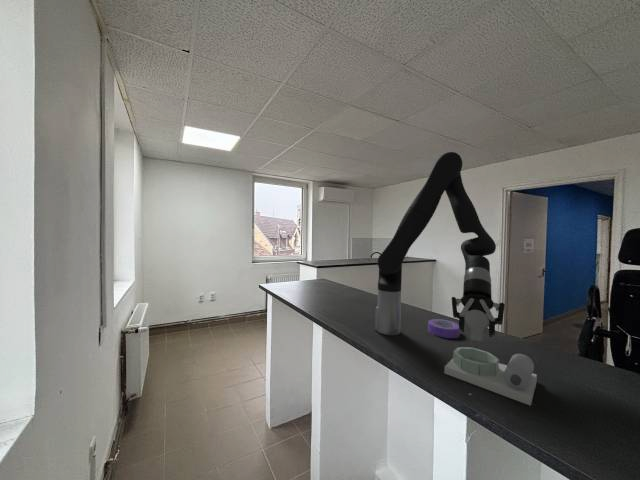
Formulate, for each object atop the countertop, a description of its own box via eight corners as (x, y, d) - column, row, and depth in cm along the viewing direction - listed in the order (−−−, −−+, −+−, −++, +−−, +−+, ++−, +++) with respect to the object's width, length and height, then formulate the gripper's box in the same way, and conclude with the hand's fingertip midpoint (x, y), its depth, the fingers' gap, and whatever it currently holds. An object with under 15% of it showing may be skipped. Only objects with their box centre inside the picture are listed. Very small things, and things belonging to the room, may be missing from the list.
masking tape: (464, 339, 97) (464, 329, 97) (432, 337, 98) (432, 327, 98) (453, 328, 108) (453, 320, 108) (424, 326, 110) (425, 318, 110)
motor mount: (444, 373, 72) (444, 349, 72) (459, 357, 82) (460, 335, 82) (530, 405, 58) (531, 375, 58) (536, 381, 68) (537, 356, 68)
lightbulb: (485, 345, 74) (485, 308, 74) (492, 354, 69) (492, 314, 68) (462, 342, 76) (462, 306, 76) (466, 351, 71) (466, 312, 70)
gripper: (451, 275, 82) (447, 321, 72) (505, 279, 75) (509, 332, 65) (452, 288, 87) (448, 334, 77) (503, 294, 79) (507, 345, 69)
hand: (476, 333), depth 71 cm, fingers closed on lightbulb, 6 cm apart
